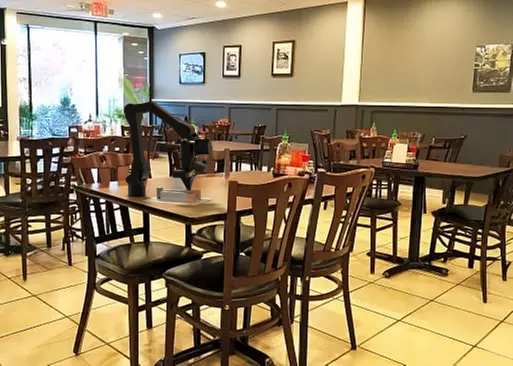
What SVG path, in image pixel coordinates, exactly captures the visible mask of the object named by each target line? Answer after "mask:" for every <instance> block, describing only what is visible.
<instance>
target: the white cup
mask: <svg viewBox="0 0 513 366" xmlns="http://www.w3.org/2000/svg"><path fill="white" fill-rule="evenodd" d="M171 185H172V190H186V187H185V185H184V183H183V182H182V180H181V179H180V178H172V177H171Z"/></svg>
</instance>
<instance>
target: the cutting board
mask: <svg viewBox="0 0 513 366" xmlns="http://www.w3.org/2000/svg"><path fill="white" fill-rule="evenodd" d="M213 199H214V198H213V197H202V196H201V199H196V202H194V203H190V202H178V201H165V200H160V199H157V196H153V197H150V198H146V199H143V200H142V202H145V203H146V202H148V203H150V202H151V203H162V204H174V205H175V204H176V205H185V206H186V205H187V206H197V205H200V204H202V203H205V202H208V201H210V200H213Z"/></svg>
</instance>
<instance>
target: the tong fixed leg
mask: <svg viewBox="0 0 513 366" xmlns="http://www.w3.org/2000/svg"><path fill="white" fill-rule="evenodd" d="M160 200H165V201H178V202H190V203H194V202H196V193H185V192H171V191H160Z"/></svg>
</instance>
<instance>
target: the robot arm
mask: <svg viewBox="0 0 513 366" xmlns="http://www.w3.org/2000/svg"><path fill="white" fill-rule="evenodd" d="M123 113H124V114H123V115H124V117H125V120H126V122H127V124H128V125H129V133H130V142H131V150H132V162H131V164H130V173H129V174H128V175H127V176H126V177H125V178H124V180H125V183H126V184H127V192H128V193H127V195H126V197H131V198H143V197H145V196H147V194H146V185H145V182H146V181H147V178H148V177H149V176H150V175H151V174H150V173H151V171H152V168H151V161H147V160H146V157H145V152H144V142H143V131H142V122H143V119H144V117H143V116H144V114H148V113H151V114H153V115H155V116H156V117H157V118H158V119H160V120H161V121H163V122H164V123H165V124H167V125H168V126H169V127H171V129H172V130H173V131H174V132H175V134H176V135H177V136H178V137H179V138H178V139H177V140H176V141H175V142H174V144H175V145H179V148H180V149H179V150H180V152H179V153H180V154H179V155H180V157H178V161H180V167H179V168H178V169H175V170H173V171H172V172H171V179H172V178H180V179H181V180H182V182H183V183H184V185H185V190H192V187H193V182H194V180H195V178H197V176H198V174H197V173H200V174H205V173H207V171H208V169H209V168H210V164H209V161H208V160H207V159H203V160H201V161H199V160H198V157H197V156H211V155H212V154H213V147H214V146H213V143H212V141H211V137H210V138H209V137H207V138H201V137H200V136H199V135H198V133H197V132H196V128H195V126H194V125H192V124H190V123H189V122H186V121H184V120H181V119H179V118H177V117H176V116H174V115H173V114H172V113H171V112H169V111H167V110H166V109H165V108H164V107H162V106H160V104H158V103H157V102H156V101H147V102H142V103H141V102H140V103H132V102H131V103H127V104H126V105H124V107H123ZM195 154H196V155H197V156H195ZM196 172H197V173H196Z"/></svg>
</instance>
